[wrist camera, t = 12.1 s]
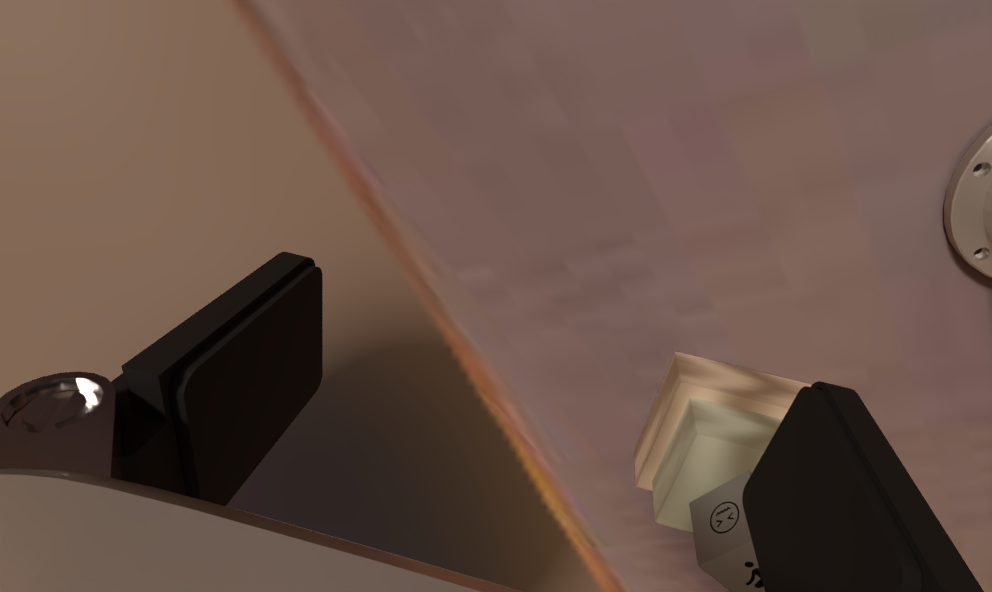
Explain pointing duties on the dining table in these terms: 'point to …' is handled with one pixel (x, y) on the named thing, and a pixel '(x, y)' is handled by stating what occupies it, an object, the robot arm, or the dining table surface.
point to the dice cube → (726, 537)
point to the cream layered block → (706, 431)
